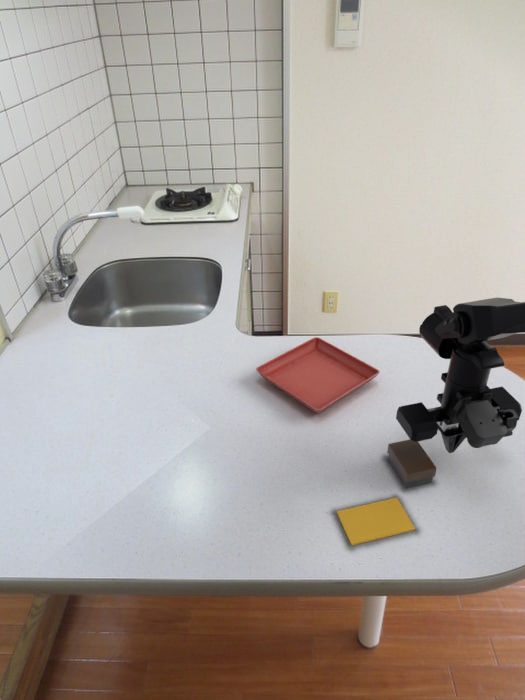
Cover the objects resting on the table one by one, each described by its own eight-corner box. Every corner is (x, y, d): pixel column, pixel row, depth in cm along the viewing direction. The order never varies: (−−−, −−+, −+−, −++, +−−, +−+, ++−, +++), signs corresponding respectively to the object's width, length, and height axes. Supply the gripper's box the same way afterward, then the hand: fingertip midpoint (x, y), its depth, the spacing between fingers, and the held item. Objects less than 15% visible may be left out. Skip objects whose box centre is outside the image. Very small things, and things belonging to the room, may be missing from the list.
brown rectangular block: (433, 483, 85) (437, 467, 83) (405, 489, 84) (407, 474, 82) (412, 452, 90) (415, 437, 88) (386, 458, 89) (388, 443, 87)
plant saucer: (316, 347, 118) (316, 335, 116) (380, 383, 106) (381, 370, 104) (254, 381, 108) (254, 368, 106) (318, 425, 97) (318, 411, 95)
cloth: (396, 498, 82) (397, 497, 82) (415, 530, 77) (415, 528, 77) (336, 512, 80) (336, 511, 80) (351, 545, 76) (351, 544, 75)
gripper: (438, 423, 70) (421, 500, 79) (559, 398, 73) (530, 475, 82) (400, 374, 79) (389, 449, 88) (509, 354, 82) (488, 428, 91)
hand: (449, 451), depth 87 cm, fingers closed
